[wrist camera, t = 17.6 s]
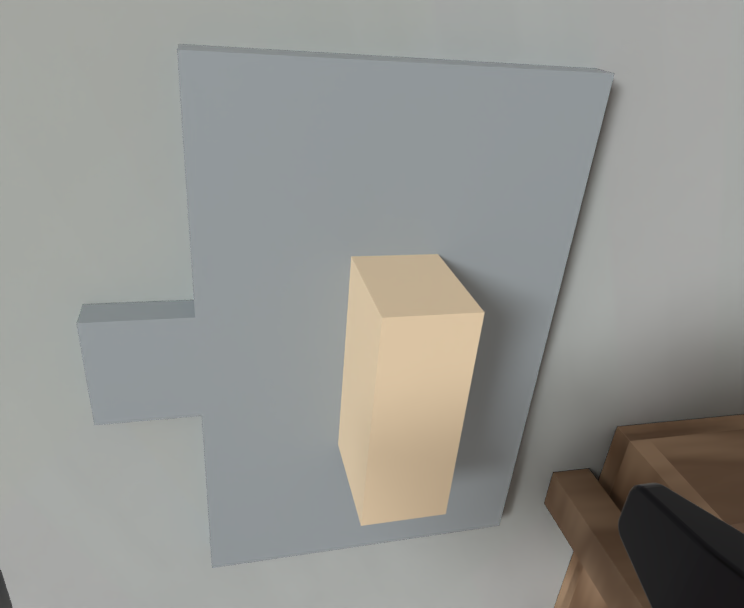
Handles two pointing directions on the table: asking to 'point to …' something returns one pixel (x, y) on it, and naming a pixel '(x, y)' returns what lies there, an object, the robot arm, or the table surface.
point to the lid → (356, 289)
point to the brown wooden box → (608, 495)
